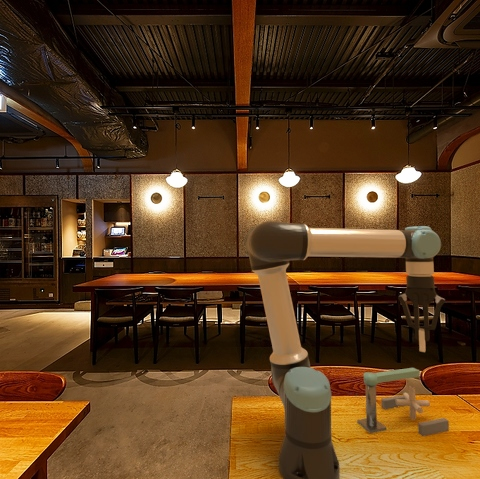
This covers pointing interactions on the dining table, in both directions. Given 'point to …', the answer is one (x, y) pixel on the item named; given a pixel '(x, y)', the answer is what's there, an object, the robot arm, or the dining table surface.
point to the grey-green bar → (389, 376)
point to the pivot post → (371, 412)
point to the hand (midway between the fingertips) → (422, 350)
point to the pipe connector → (412, 402)
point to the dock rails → (423, 427)
